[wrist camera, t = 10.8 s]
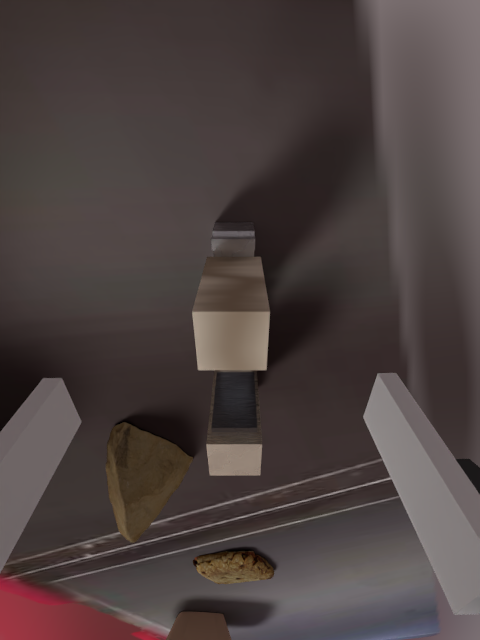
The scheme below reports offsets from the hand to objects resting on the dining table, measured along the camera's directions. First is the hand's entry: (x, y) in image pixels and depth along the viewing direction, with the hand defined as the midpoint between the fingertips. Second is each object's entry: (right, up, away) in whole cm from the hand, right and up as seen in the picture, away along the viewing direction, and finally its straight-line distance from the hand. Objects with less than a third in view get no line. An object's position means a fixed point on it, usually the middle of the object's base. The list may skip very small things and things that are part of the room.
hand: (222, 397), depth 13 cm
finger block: (0, +6, +10) cm, 12 cm away
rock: (-11, -12, +26) cm, 30 cm away
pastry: (0, -47, +48) cm, 67 cm away
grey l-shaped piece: (0, +3, +15) cm, 16 cm away
